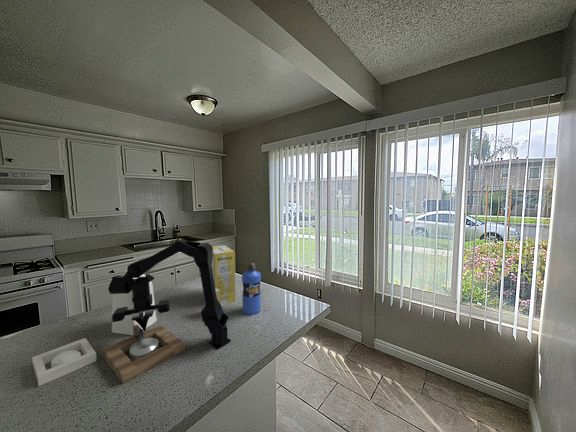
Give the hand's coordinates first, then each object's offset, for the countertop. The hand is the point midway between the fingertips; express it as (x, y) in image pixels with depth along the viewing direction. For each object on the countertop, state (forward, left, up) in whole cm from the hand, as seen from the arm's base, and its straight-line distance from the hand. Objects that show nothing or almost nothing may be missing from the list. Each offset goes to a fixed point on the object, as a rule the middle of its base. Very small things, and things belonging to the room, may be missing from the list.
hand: (144, 330), depth 92 cm
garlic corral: (+9, +22, -5) cm, 24 cm away
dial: (-5, +3, -5) cm, 7 cm away
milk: (+16, -2, -5) cm, 17 cm away
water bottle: (-14, -44, -5) cm, 46 cm away
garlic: (+9, +21, -5) cm, 24 cm away
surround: (-7, +3, -5) cm, 9 cm away
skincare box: (-1, -30, -5) cm, 31 cm away
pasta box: (+11, -44, -5) cm, 46 cm away
